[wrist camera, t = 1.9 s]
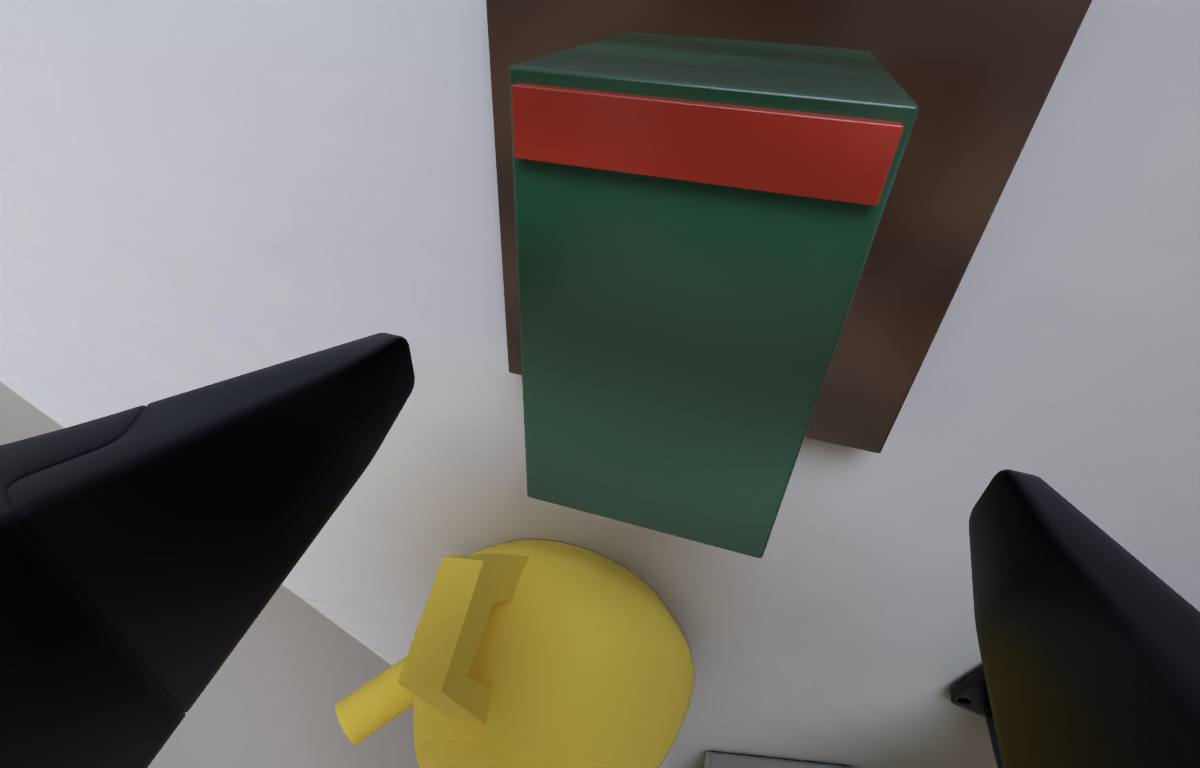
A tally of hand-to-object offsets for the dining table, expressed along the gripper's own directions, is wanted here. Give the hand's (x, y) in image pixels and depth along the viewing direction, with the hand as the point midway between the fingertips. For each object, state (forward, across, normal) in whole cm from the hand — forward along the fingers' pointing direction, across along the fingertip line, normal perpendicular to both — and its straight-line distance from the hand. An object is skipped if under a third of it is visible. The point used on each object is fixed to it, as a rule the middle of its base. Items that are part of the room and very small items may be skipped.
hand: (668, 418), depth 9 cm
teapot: (+10, +6, +24) cm, 27 cm away
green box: (+9, 0, 0) cm, 9 cm away
